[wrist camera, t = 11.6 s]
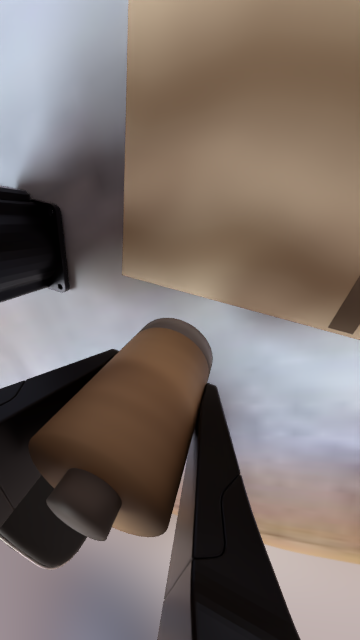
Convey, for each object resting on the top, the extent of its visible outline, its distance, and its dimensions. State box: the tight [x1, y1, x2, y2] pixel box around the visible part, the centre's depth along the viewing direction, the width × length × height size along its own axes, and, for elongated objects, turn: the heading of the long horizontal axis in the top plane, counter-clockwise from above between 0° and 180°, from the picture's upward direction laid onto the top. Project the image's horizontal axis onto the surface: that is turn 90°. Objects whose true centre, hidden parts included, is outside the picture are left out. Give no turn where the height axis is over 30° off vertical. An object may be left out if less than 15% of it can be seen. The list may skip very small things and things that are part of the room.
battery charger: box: [0, 475, 87, 569], centre depth 17 cm, size 7×4×11 cm, turn 49°
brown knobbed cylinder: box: [28, 318, 213, 541], centre depth 7 cm, size 4×4×7 cm
